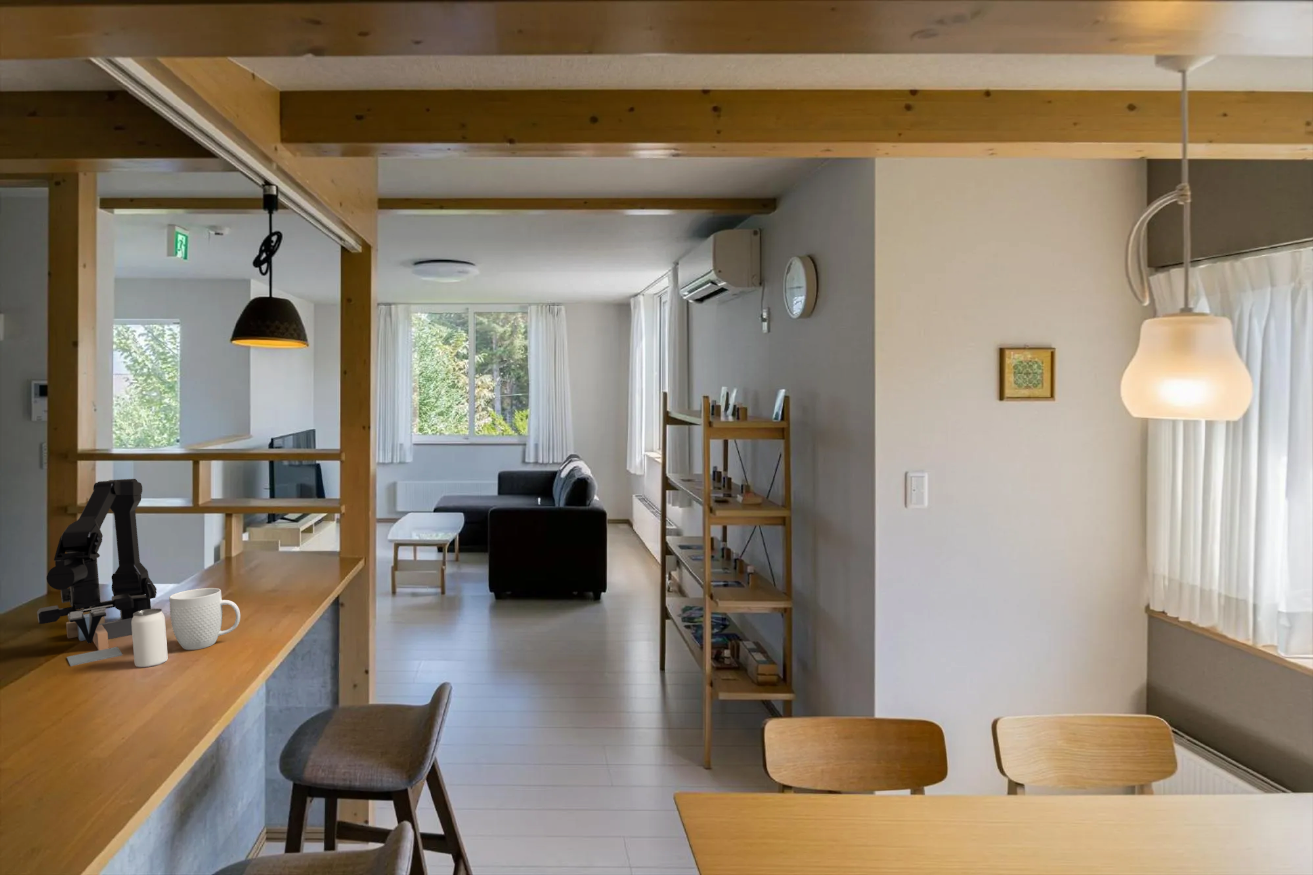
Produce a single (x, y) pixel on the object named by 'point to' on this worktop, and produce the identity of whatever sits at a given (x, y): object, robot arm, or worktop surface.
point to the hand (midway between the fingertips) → (89, 642)
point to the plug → (80, 634)
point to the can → (149, 638)
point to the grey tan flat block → (111, 632)
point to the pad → (94, 656)
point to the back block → (76, 628)
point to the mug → (199, 617)
